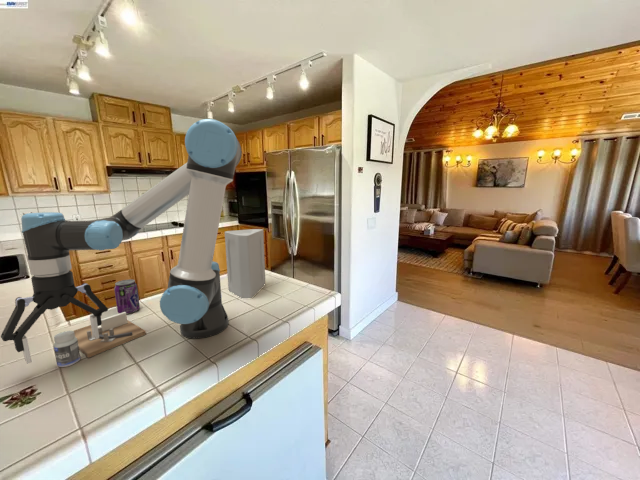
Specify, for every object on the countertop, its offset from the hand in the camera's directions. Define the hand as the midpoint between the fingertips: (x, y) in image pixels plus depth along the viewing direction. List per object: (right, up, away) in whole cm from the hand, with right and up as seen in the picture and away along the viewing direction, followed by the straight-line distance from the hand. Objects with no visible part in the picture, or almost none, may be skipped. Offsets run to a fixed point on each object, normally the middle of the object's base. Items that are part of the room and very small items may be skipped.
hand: (64, 348), depth 72 cm
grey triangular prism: (+33, +5, +54) cm, 64 cm away
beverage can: (-5, +1, +32) cm, 32 cm away
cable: (+3, -1, +13) cm, 13 cm away
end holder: (-3, 0, +19) cm, 19 cm away
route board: (0, -2, +14) cm, 14 cm away
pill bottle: (0, -4, +1) cm, 5 cm away
